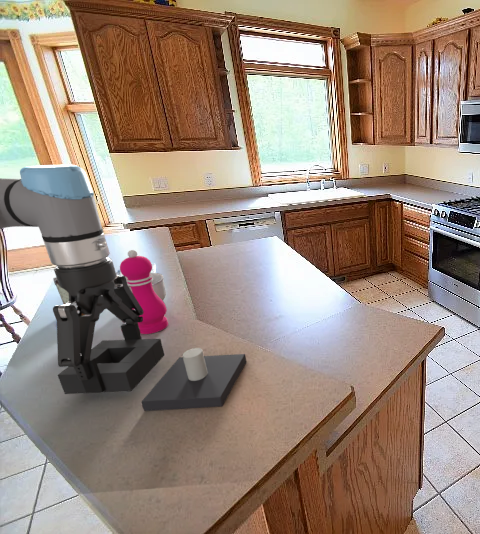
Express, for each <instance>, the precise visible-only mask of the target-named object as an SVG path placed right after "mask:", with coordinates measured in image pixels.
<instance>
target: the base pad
mask: <svg viewBox="0 0 480 534" xmlns="http://www.w3.org/2000/svg"><path fill="white" fill-rule="evenodd" d="M246 364H247V357H246V354H245V353H236V354H235V353H234V354H218V355H204V351H203V349H202V348H201V347H193V348H190V349H187V350H186V351H184V352H183V353H182V356H179V357H178V359H176V361H175V362H174V363H173V364H172V365H171V366H170V368H169V369H168V370H167V371H166V372H165V373H164V375H163V376H162V377H161V378H160V379H159V380H158V381H157V383H155V385H154V386H153V387H152V388H151V390H149V393H147V394H146V396H144V397H143V399H142V400H141V404H142V405H141V406H142V409H143V411H144V412H150V411H167V410H184V409H185V410H187V409H201V408H217V407H223V406H224V404H225V403H226V401H227V399H228V397H229V395H230V393H231V391H232V389H233V388H234V385H236V382H237V380H238V378H239V376H240V374H241V373H242V372H243V369H244V368H245V366H246Z"/></svg>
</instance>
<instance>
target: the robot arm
mask: <svg viewBox="0 0 480 534" xmlns="http://www.w3.org/2000/svg"><path fill="white" fill-rule="evenodd" d="M19 175H20V178H0V230H2V229H6V228H7V229H8V228H14V227H16V228H17V227H21V228H23V227H29V228H30V227H31V228H39V232H40V234H41V238H42V241H43V243H44V246H45V249H46V252H47V255H48V259H49V261H50V264H52V265H54V266H55V267H54V268H53V272H54V274H55V278H56V277H57V280H58V283H59V286H60V287H61V288H63V289H64V290H66V291H67V292H68V293H69V302H68V303H66V304H57V305H54V306H53V307H52V313H53V315H54V317H55V320H56V343H57V365H58V367H59V368H65V367H66V368H67V367H70V366H74V369H75V371H76V373H77V377H78V379H79V380H81V381H82V383H83V386H84V389H85V391H86V393H85V394H100V393H99V392H102V393H105V392H104V391H105V390H106V389H105V386H104V383H103V381H102V378H101V375H100V371H99V369H98V366H97V363H96V360H95V358H90V355H91V349H92V348H93V340H94V335H95V328H96V322H98V321H99V320H100V315H101V314H102V313H103V312H104V311H105V310H107V311H109V313H111V314H112V315H113V316H115V317H116V318H117V319H118V320H120V321H121V322H122V324H121V325H120V329H121V332H122V336H123V340H131V339H142V334H140V329H139V325H138V322H142V321H143V317H139V316H140V315H143V313H144V311H143V309H142V307H141V306H140V304H139V303H138V301H137V299H136V298H135V296H134V295H133V293H132V291H131V290H130V288H129V287H128V284H127V281H126V277H125V276H116V272H117V271H116V268H115V265H114V261H113V259H112V258H111V257H109V256H110V254H111V253H110V252H111V251H110V250H109V246H108V242H107V239H106V236H105V233H104V229H103V227H102V223H101V219H100V216H99V212H98V207H97V203H96V199H95V193H94V190H93V188H92V187H91V184H90V180H89V179H88V176H87V173H86V171H85V170H84V169H83V167H80V166H78V165H75V164H44V165H43V164H41V165H31V166H24V167H22V168H21V169H19ZM133 308H134V309H133ZM82 313H83V314H85V315H90V316H82Z"/></svg>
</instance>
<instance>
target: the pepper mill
mask: <svg viewBox="0 0 480 534" xmlns="http://www.w3.org/2000/svg"><path fill="white" fill-rule="evenodd" d="M127 256H128V257H127V258H124V259H123V260H122V261H121V262H120V264H119V270H120V271H121V273H122V275H124V276H125V277H127V279H126V281H127V284H128V286H130V287H131V289H132V293H133V295H134V296H135V298H136V299H137V301H138V303H139V304H140V306H141V307H142V309H143V311H144V313H143V315H140V316H139V317H143V321H142V322H138V325H139V329H140V335H150V334H151V335H152V334H155V333H158V332H161V331H163V330H165V329H167V327H168V326H169V322H168V321H169V320H168V318H167V317H166V316H165V315H166V314H167V312H168V309H167V306H166V304H165V302H164V300H163V301H162V300H161V299H160V298H159V297H158V295H157V294H156V293H155V291H154V290H153V287H152V281H153V278H152V275H151V274H150V272H151V270H152V264H153V263H152V262H151V260H150V259H149V258H147V257H145V256H142V255H138V252H137V251H136V249H135V250H134V249H131V250H129V251H128V252H127ZM133 309H134V308H133Z"/></svg>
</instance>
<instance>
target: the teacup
mask: <svg viewBox="0 0 480 534" xmlns="http://www.w3.org/2000/svg"><path fill="white" fill-rule="evenodd" d="M150 274H151V275H152V278H153V281H152V287H153V290H154V291H155V293H156V294H157V295H158V297H159V298H160V299H161V300H162V301H163V302H164V300H165V298H166V295H167V292H166V291H167V290H166V285H165V280H164V275H163V274H161V273H158V272H156V273H150ZM126 279H127V277H126ZM128 287H129V288H130V290H131V291H132V289H131V287H130V286H128Z"/></svg>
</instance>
